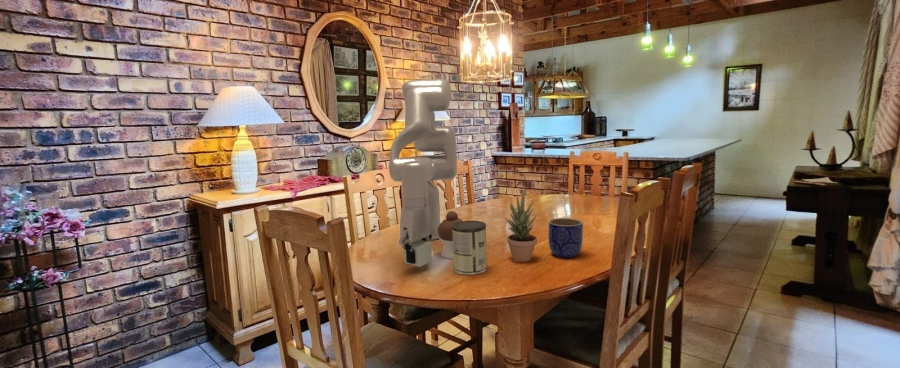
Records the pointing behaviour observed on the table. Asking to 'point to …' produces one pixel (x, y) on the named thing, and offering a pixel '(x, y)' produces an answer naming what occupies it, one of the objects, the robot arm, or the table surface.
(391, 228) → the table surface
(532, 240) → the potted plant
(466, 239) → the coffee can
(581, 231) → the planter
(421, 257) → the sage block
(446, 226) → the figurine
